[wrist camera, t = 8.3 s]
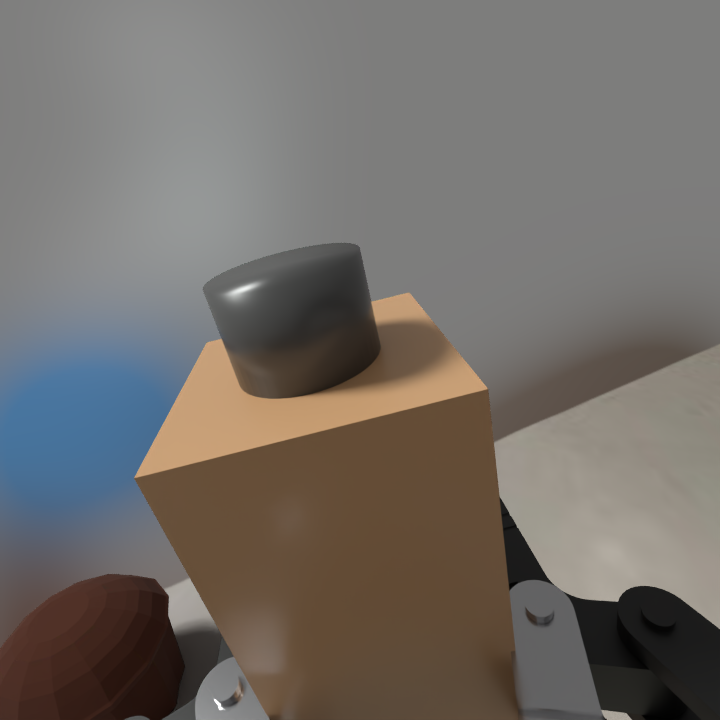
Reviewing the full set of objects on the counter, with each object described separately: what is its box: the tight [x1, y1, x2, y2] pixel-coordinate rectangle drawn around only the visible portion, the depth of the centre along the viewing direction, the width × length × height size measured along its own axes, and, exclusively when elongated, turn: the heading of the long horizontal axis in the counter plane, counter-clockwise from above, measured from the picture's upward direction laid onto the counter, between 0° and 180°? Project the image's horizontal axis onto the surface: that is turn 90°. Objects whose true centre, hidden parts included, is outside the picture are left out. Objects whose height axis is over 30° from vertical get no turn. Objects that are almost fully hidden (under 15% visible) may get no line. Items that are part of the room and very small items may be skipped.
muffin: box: [0, 574, 185, 720], centre depth 31 cm, size 12×11×10 cm
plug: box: [134, 243, 518, 720], centre depth 10 cm, size 4×4×18 cm
